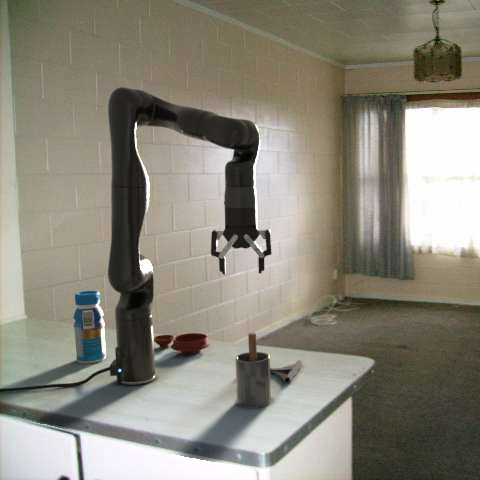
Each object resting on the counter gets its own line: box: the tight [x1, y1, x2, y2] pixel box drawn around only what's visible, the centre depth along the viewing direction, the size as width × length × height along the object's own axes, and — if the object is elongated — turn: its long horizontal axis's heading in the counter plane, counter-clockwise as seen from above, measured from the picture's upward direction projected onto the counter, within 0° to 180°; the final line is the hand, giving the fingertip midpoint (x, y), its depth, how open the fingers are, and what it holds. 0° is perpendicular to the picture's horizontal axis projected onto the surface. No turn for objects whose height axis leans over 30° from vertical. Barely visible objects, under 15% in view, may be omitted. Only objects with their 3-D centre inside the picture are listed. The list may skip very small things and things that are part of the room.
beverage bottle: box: [73, 290, 107, 364], centre depth 185 cm, size 8×8×20 cm
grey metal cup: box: [234, 351, 272, 409], centre depth 150 cm, size 8×8×11 cm
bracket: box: [270, 359, 303, 384], centre depth 171 cm, size 14×15×3 cm
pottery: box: [153, 332, 211, 356], centre depth 194 cm, size 12×20×4 cm, turn 59°
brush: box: [247, 332, 258, 362], centre depth 150 cm, size 4×4×16 cm
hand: (242, 273), depth 151 cm, fingers open, 8 cm apart
